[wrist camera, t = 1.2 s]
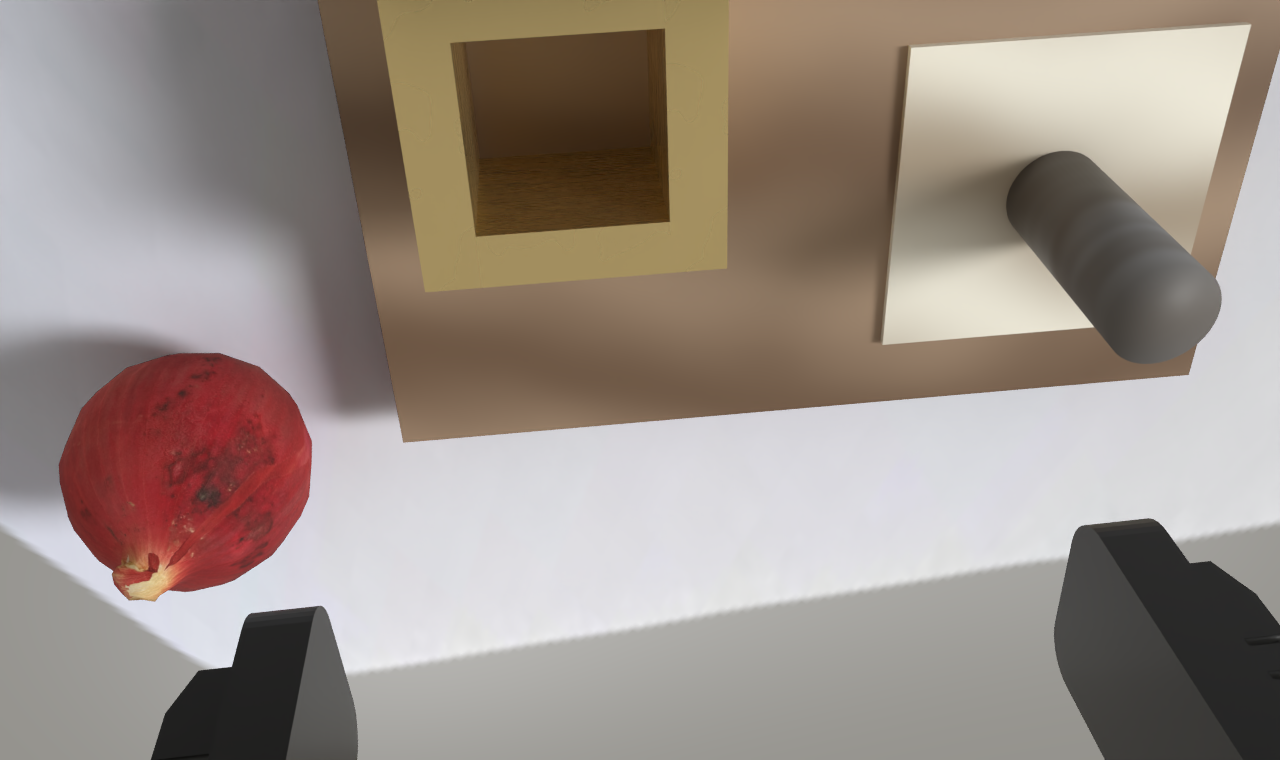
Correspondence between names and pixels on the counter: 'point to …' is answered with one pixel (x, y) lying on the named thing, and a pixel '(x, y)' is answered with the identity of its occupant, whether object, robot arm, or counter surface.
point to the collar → (562, 182)
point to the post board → (843, 209)
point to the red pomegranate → (186, 472)
